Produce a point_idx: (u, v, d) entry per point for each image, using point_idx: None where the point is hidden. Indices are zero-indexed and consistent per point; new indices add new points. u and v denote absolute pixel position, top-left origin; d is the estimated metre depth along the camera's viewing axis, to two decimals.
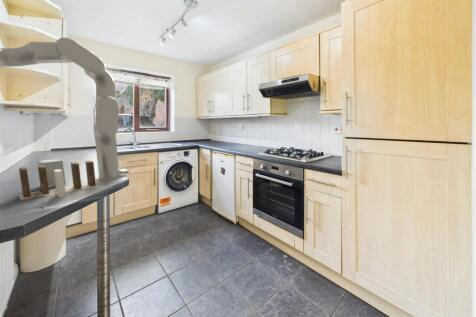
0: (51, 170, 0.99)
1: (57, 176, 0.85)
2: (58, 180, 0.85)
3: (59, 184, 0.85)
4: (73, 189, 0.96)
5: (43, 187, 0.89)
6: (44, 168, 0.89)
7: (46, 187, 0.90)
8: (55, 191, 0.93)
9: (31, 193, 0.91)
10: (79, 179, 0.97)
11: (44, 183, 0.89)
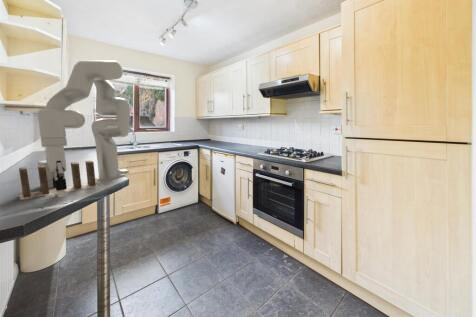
0: None
1: None
2: None
3: None
4: (73, 189, 0.96)
5: (43, 187, 0.89)
6: (44, 168, 0.89)
7: (46, 187, 0.90)
8: (55, 191, 0.93)
9: (31, 193, 0.91)
10: (79, 179, 0.97)
11: (44, 183, 0.89)
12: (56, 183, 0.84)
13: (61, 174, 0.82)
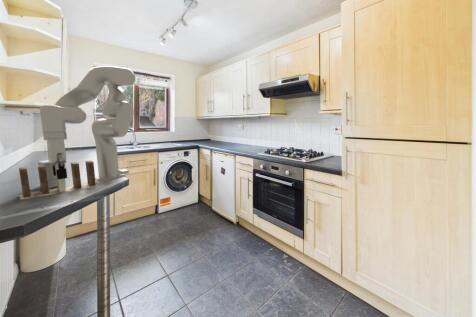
0: (51, 170, 0.99)
1: None
2: None
3: None
4: (73, 189, 0.96)
5: (43, 187, 0.89)
6: (44, 168, 0.89)
7: (46, 187, 0.90)
8: (55, 191, 0.93)
9: (31, 193, 0.91)
10: (79, 179, 0.97)
11: (44, 183, 0.89)
12: (57, 172, 0.90)
13: (62, 162, 0.88)
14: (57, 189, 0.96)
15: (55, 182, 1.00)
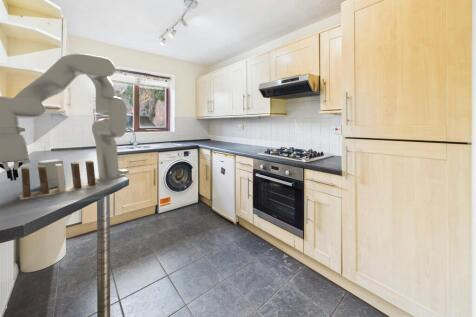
0: (51, 170, 0.99)
1: (58, 170, 0.92)
2: (59, 173, 0.92)
3: (60, 177, 0.92)
4: (73, 189, 0.96)
5: (43, 187, 0.89)
6: (44, 168, 0.89)
7: (46, 187, 0.90)
8: (55, 191, 0.93)
9: (31, 193, 0.91)
10: (79, 179, 0.97)
11: (44, 183, 0.89)
12: None
13: None
14: (57, 189, 0.96)
15: (55, 182, 1.00)
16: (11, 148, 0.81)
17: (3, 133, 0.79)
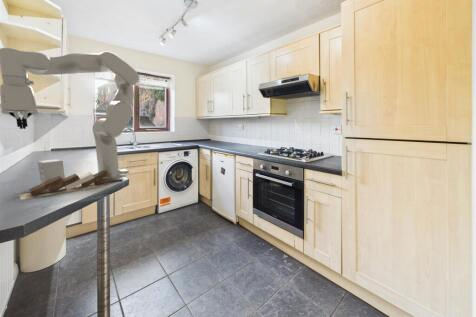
0: (51, 170, 0.99)
1: (88, 176, 1.00)
2: (84, 178, 0.99)
3: (81, 180, 0.98)
4: (73, 189, 0.96)
5: (56, 186, 0.92)
6: (78, 179, 0.97)
7: (57, 188, 0.92)
8: (55, 191, 0.93)
9: None
10: (93, 182, 1.01)
11: (61, 185, 0.93)
12: None
13: (5, 113, 0.88)
14: None
15: None
16: (21, 98, 0.89)
17: (14, 82, 0.86)
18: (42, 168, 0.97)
